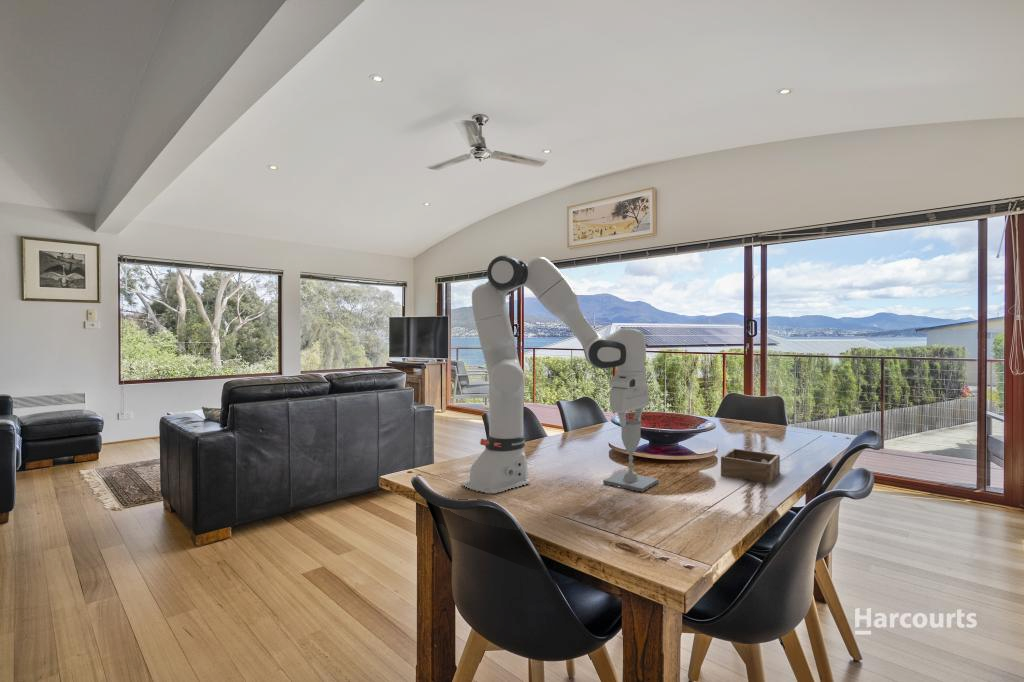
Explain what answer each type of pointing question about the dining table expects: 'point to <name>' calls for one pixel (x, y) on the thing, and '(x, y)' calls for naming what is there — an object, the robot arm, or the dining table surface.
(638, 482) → the slate board
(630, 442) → the chalice
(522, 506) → the dining table surface
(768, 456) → the walnut display box
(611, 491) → the dining table surface
